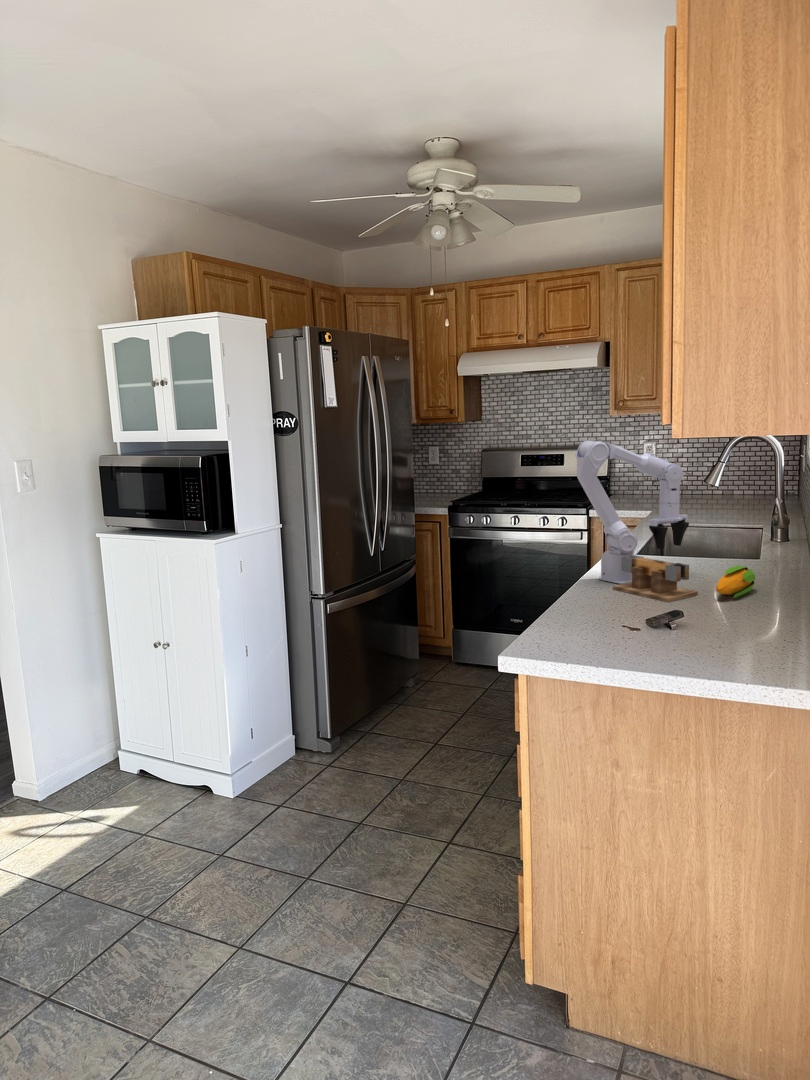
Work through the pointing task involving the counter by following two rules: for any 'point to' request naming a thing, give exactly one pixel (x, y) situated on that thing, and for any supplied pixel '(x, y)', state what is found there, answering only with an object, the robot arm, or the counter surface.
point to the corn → (736, 581)
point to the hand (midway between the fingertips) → (668, 547)
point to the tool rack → (654, 586)
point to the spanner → (656, 567)
